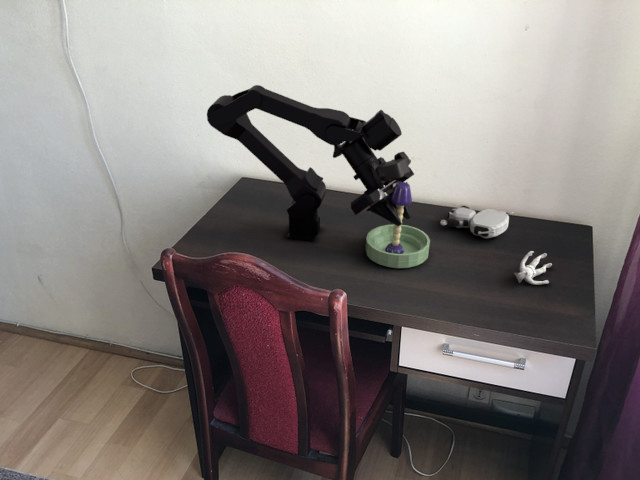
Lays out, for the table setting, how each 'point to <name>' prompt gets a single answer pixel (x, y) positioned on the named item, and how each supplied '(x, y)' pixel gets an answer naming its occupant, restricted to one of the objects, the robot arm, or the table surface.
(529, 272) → the white figurine
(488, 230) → the robot toy
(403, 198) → the toy lamp
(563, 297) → the table surface
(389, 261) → the bowl
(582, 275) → the table surface
